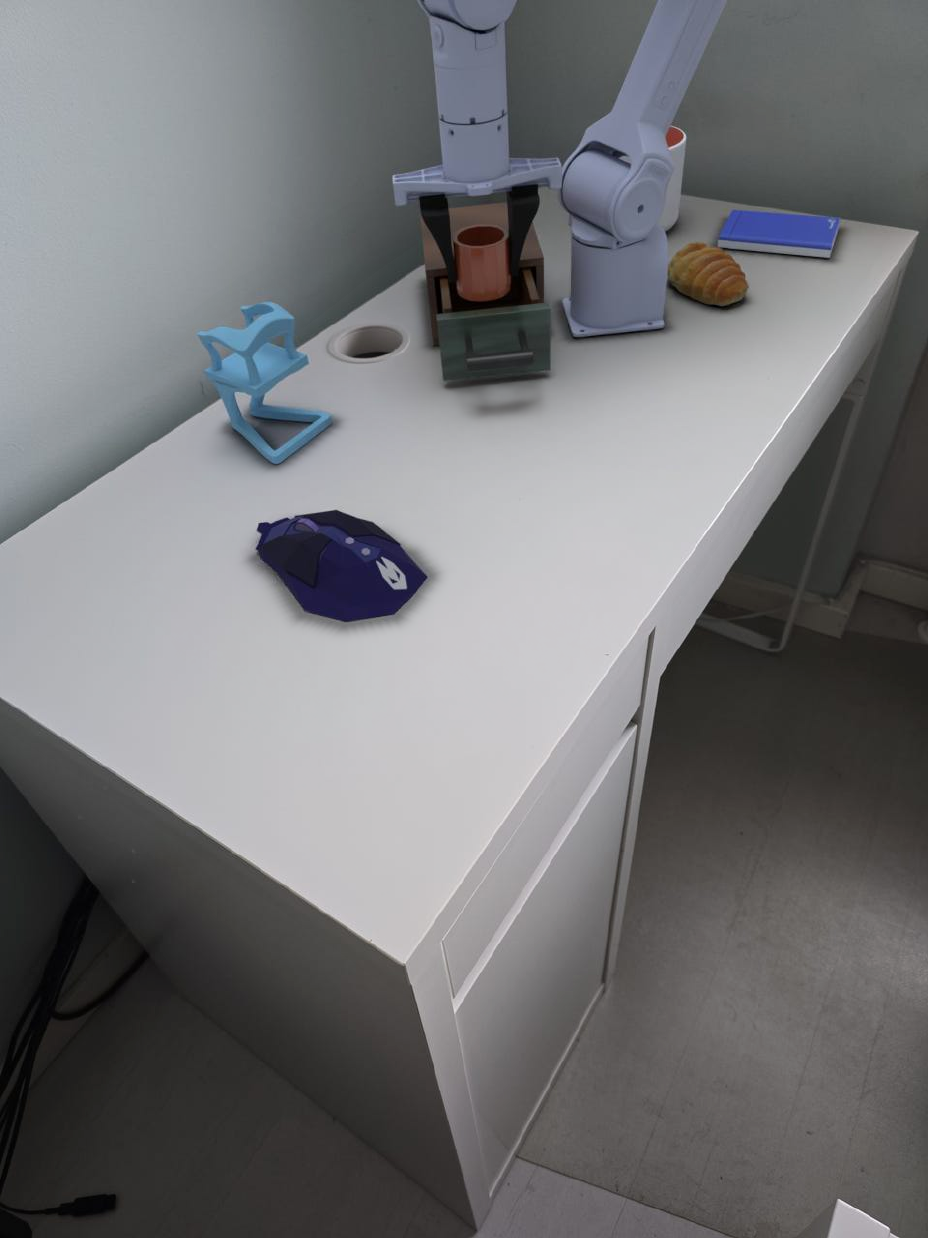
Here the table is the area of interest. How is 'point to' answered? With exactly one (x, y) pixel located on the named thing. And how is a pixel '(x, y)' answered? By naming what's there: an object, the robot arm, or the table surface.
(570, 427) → the table surface
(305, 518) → the computer mouse
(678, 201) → the cup
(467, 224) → the cabinet
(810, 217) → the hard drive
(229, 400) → the chair
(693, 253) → the pastry
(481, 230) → the small cup
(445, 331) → the drawer
